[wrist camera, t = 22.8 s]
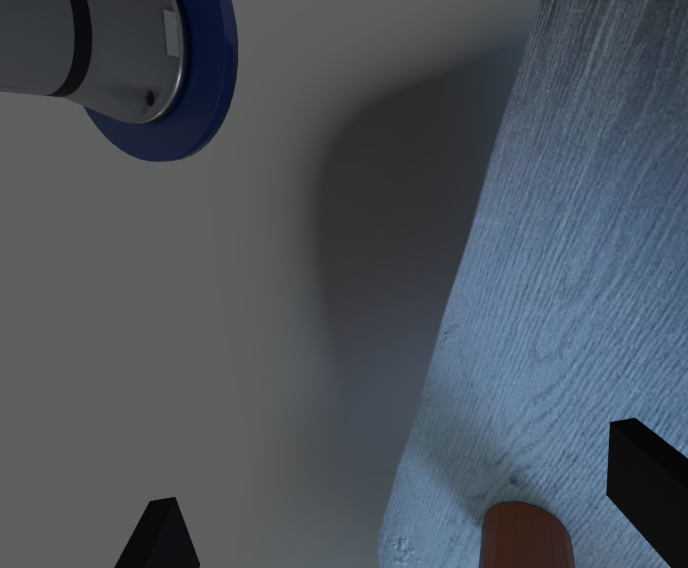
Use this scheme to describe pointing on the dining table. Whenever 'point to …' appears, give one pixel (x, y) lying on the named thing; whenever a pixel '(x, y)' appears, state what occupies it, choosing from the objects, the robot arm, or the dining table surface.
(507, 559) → the cup
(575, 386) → the dining table surface
